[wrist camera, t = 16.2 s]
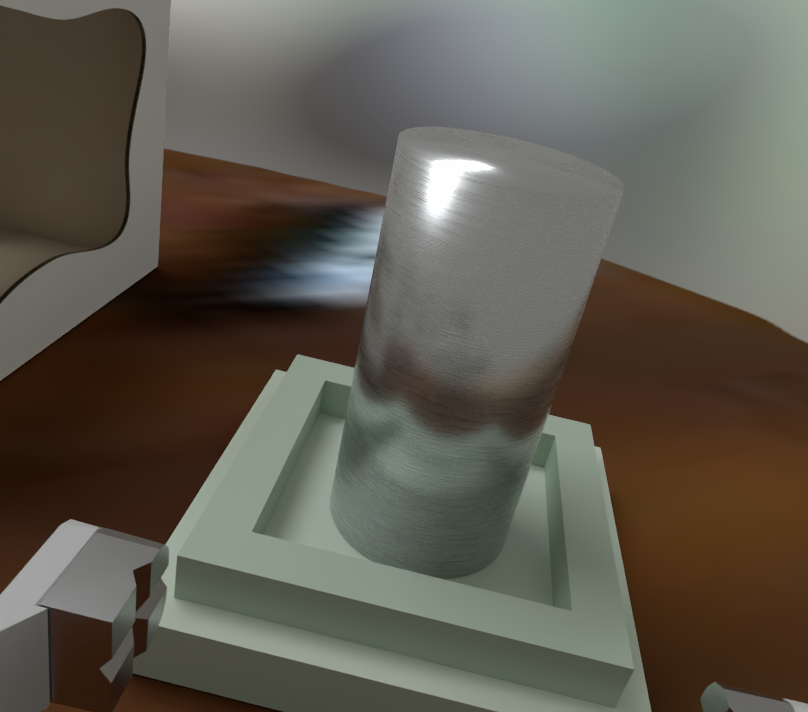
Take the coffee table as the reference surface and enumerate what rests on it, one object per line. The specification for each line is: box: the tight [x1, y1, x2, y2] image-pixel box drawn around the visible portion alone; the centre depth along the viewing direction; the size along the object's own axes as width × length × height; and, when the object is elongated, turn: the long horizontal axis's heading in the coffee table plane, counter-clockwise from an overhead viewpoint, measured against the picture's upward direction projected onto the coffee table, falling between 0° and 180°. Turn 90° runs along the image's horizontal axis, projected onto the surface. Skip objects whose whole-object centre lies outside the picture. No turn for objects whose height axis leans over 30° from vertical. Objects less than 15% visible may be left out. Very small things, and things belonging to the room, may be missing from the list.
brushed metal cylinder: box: [330, 127, 625, 579], centre depth 22 cm, size 6×6×12 cm
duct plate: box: [133, 354, 651, 712], centre depth 25 cm, size 14×14×4 cm
